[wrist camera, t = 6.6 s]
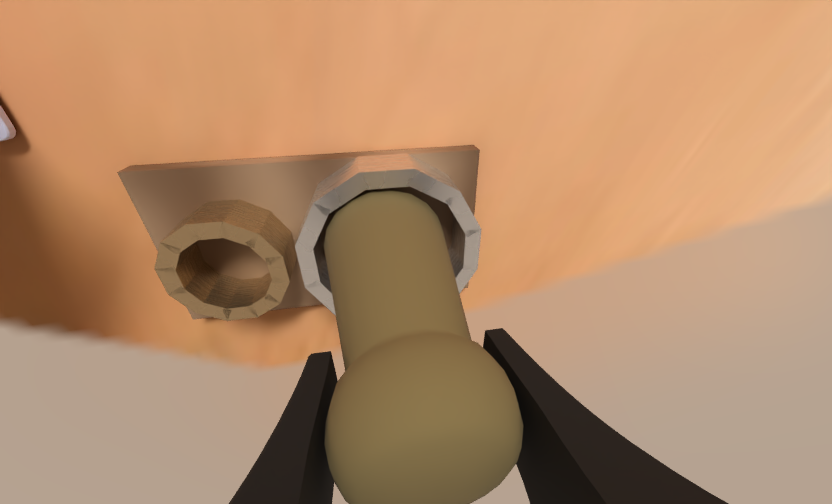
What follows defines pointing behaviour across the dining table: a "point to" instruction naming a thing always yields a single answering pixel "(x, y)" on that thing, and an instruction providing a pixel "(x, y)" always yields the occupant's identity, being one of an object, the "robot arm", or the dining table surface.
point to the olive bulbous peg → (410, 365)
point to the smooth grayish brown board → (273, 200)
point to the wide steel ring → (379, 176)
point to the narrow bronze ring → (210, 288)
